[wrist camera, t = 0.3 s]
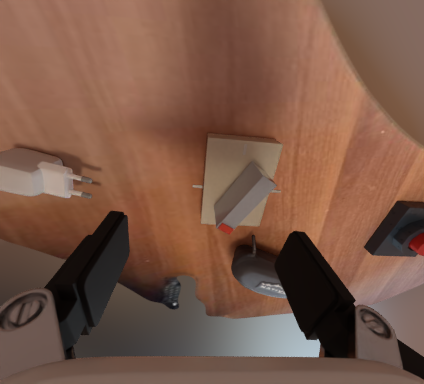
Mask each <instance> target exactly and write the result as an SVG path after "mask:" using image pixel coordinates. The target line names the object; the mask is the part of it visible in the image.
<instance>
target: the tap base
mask: <svg viewBox="0 0 424 384" xmlns="http://www.w3.org/2000/svg"><path fill="white" fill-rule="evenodd" d="M282 147H283V144H282V143H280V142H279V141H277V140H276V139H268V138H257V137H246V136H235V135H224V134H213V133H207V142H206V154H205V167H204V179H203V192H202V204H201V224H216V222H215V212H214V206H215V205H216V203H217V202H218V201H219V200H220V199H221V197H222V196H223V195H224V194H225V193H226V192H227V190H228V189H229V188H230V187H231V186H232V184H233V183H234V182H235V181H236V180H237V179H238V177H239V176H240V175H241V174H242V173H243V171H244V170H245V169H246V168H247V167H248V165H249V164H250V163H251V162H252V161H253V162H255V163H256V164H257V165H259V166H260V167H261V168H263V169H264V170H265V172H266V173H267V174H268V175H269V176H270V178H271V179H272V180H273V178H274V174H275V171H276V167H277V164H278V161H279V157H280V154H281V150H282ZM193 187H194V188H202V185H193ZM271 192H275V193H280V192H281V190H272V191H271ZM268 195H269V194H268ZM268 195H267V196H266V197H265V198H264V199H263V200H262V201H261V202H260V203H259V204H258V205H257V206H256V207H255V208H254V209H253V210H252V211H251V212H250V214H249V215H248V216H247V217H246V218H245V219H244V220H243V221H242V222H241V223H240V224H239V226H259V225H260V222H261V219H262V215H263V212H264V208H265V205H266V201H267V198H268Z"/></svg>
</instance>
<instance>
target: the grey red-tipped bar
mask: <svg viewBox="0 0 424 384" xmlns="http://www.w3.org/2000/svg"><path fill="white" fill-rule="evenodd" d="M276 186H277V185H276V184H275V183H274V181H273V180H272V179H271V178H270V176H269V175H268V174H267V173H266V172H265V170H264V169H263V168H261V167H260V166H259V165H257V164H256V163H255V162H253V161H252V162H251V163H250V164H249V165H248V167H247V168H246V169H245V170H244V171H243V173H242V174H241V175H240V176H239V177H238V179H237V180H236V181H235V182H234V183H233V184H232V186H231V187H230V188H229V189H228V190H227V192H226V193H225V194H224V195H223V196H222V197H221V199H220V200H219V201H218V202H217V203H216V205H215V206H214V212H215V222H216V228H217V229H219V230H221V231H223V232H225V233H227V234H230V233H231V232H232V231H233V230H234V229H235V228H236V227H237V226H238V225H239V224H240V223H241V222H242V221H243V220H244V219H245V218H246V217H247V216H248V215H249V214H250V212H251V211H252V210H253V209H254V208H255V207H256V206H257V205H258V204H259V203H260V202H261V201H262V200H263V199H264V198H265V197H266V196H267V195H268V194H269V193H270V192H271V191H272V190H273V189H274V188H275V187H276Z"/></svg>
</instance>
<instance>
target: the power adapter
mask: <svg viewBox="0 0 424 384" xmlns="http://www.w3.org/2000/svg"><path fill="white" fill-rule="evenodd" d="M73 179H75V180H79V181H82V182H86V183H92V179H91V178H88V177H84V176H79V175H75V174H73V171H72V169H71V168H69V167H65V166H63V163H62V160H61V159H59V158H58V157H55V156H52V155H48V154H45V153H41V152H37V151H33V150H29V149H25V148H13V149H9V150H5V151H2V152H0V190H1V191H6V192H10V193H15V194H19V195H25V196H37V195H39V194H41V193H46V194H50V195H55V196H59V197H64V198H70V197H71V195H77V196H81V197H85V198H89V199H90V198H92V194H89V193H85V192H80V191H76V190H73Z"/></svg>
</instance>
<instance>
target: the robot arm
mask: <svg viewBox="0 0 424 384" xmlns="http://www.w3.org/2000/svg"><path fill="white" fill-rule="evenodd" d="M129 251H130V250H129V234H128V218H127V215H124V213H123V212H118V211H110V212H109V214H108V215H107V216H106V218H105V219H104V220H103V221H102V223H101V224H100V225H99V227H98V228H97V229H96V230H95V232H94V233H93V234H92V235H88V236H86V237H85V238H84V239H83V241H82V242H81V243H80V244H79V246H78V247H77V248H76V249H75V250H74V252H73V253H72V254H71V255H70V257H69V258H68V259H67V260H66V262H65V263H64V264H63V265H62V266H61V268H60V269H59V270H58V271H57V273H56V274H55V275H54V276H53V278H52V279H51V280H50V281H49V282H48V284H47V285H46V286H45V287H44V288H35V289H30V290H27V291H24V292H22V293H20V294H18V295H16V296H14V297H12V298H11V299H9V300H8V301H7V302H5V303H4V304H3V305H2V306H1V307H0V384H424V357H423V356H421V355H420V354H419V353H417V352H415V351H414V350H413V349H411V348H410V347H408V346H407V345H405V344H404V343H402V342H401V341H399V340H398V339H397V338H396V334H395V332H394V330H393V328H392V327H391V325H390V324H389V323H388V321H387V320H386V319H385V318H384V317H382V315H380V314H379V313H378V312H376V311H375V310H374V309H372V308H370V307H368V306H365V305H358V306H356V307H355V305H354V304H353V303H354V302H355V301H356V300H355V299H354V297H353V296H352V295H351V293H350V292H349V291H348V289H347V288H346V287H345V285H344V284H343V283H342V281H341V280H340V279H339V277H338V276H337V275H336V273H335V272H334V271H333V269H332V268H331V267H330V265H329V264H328V263H327V261H326V260H325V259H324V257H323V256H322V255H321V253H320V252H319V251H318V249H317V248H316V247H315V245H314V244H313V242H312V241H311V240H310V238H309V237H308V236H307V234H306V233H305V232H299V231H293V232H292V233H290V234H289V236H288V238H287V240H286V242H285V244H284V246H283V248H282V250H281V252H280V254H279V256H278V257H277V259H276V261H275V264H274V267H275V271H276V273H277V275H278V278H279V280H280V282H281V285H282V287H283V290H284V292H285V294H286V297H287V299H288V302H289V304H290V306H291V309H292V311H293V313H294V316H295V318H296V321H297V323H298V325H299V328H300V329H301V331H302V332H304V334H305V337H306V339H307V340H317V339H319V341H320V343H321V345H320V352H319V357H215V356H214V357H210V356H205V357H204V356H203V357H202V356H187V357H186V356H161V357H160V356H154V357H153V356H149V357H148V356H137V357H136V356H134V357H93V358H79V359H76V356H75V352H74V347H73V345H74V344H76V343H77V341H78V339H79V337H80V335H89V334H90V332H91V329H92V327H96V326H97V325H98V323H99V321H100V319H101V317H102V314H103V312H104V310H105V308H106V306H107V303H108V301H109V299H110V297H111V294H112V292H113V290H114V288H115V286H116V283H117V281H118V279H119V277H120V274H121V272H122V270H123V268H124V265H125V263H126V261H127V259H128V256H129Z"/></svg>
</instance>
